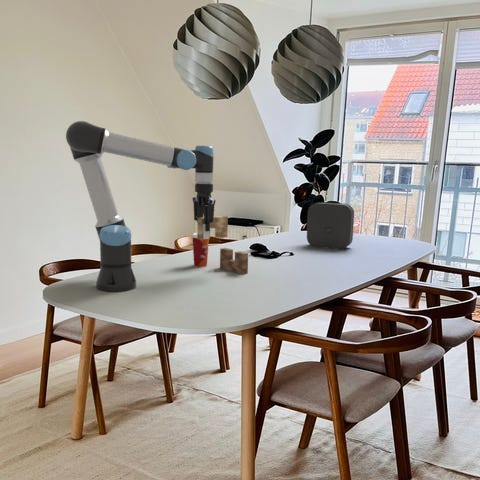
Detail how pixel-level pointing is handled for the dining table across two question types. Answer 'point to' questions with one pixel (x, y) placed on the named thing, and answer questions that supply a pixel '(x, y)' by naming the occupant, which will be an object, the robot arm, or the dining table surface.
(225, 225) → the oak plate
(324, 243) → the speaker
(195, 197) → the robot arm
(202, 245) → the coffee cup
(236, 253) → the wooden notched block
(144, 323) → the dining table surface
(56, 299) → the dining table surface
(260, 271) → the dining table surface
